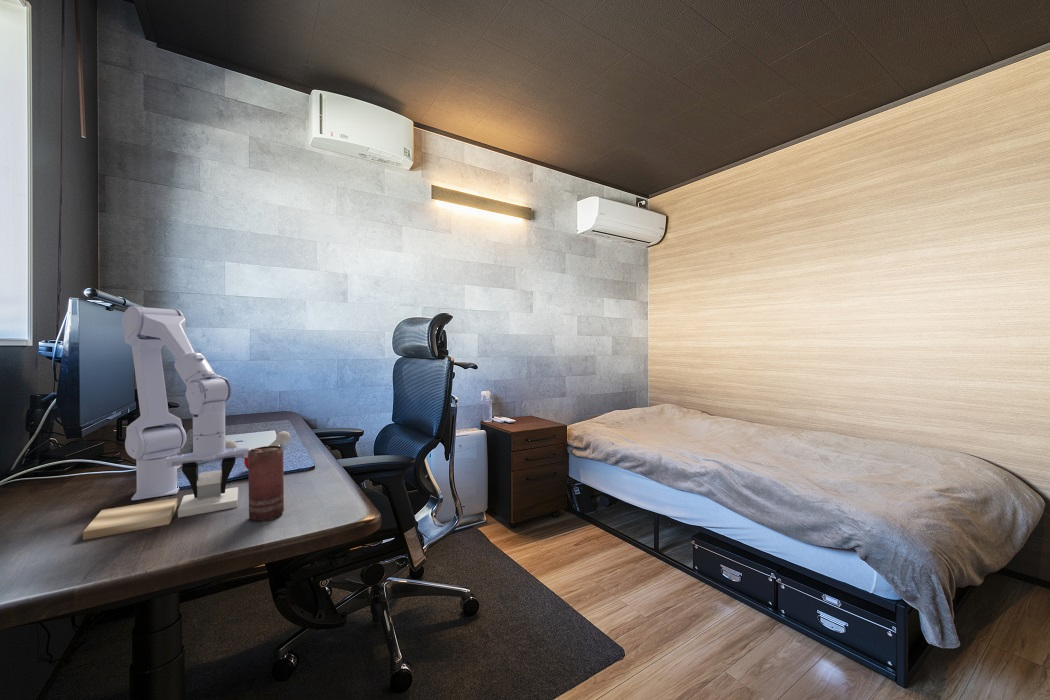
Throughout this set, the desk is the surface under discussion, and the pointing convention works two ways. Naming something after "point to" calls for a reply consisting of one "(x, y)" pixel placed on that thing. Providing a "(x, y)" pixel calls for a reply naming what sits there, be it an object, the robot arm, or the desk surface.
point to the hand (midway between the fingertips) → (210, 494)
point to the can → (265, 483)
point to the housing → (209, 487)
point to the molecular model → (280, 439)
